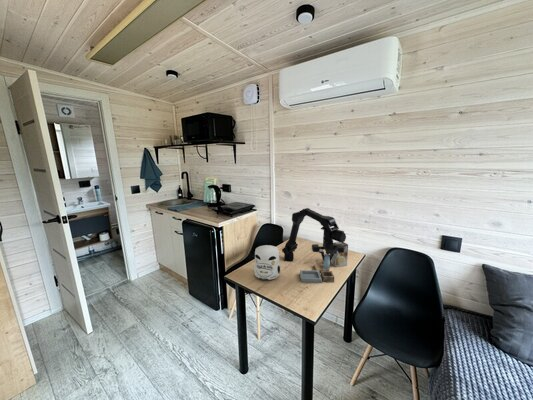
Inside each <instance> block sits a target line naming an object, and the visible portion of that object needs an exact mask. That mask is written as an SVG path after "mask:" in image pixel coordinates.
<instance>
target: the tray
mask: <svg viewBox="0 0 533 400" xmlns="http://www.w3.org/2000/svg"><path fill="white" fill-rule="evenodd" d="M299 275H300V280H301V283H307V284H308V283H309V284H310V283H311V284H312V283H313V284H322V283H323V281H322V278H321V273H320V272H319V271H316V270H315V269H313V270H309V269H308V270H307V269H300V270H299Z"/></svg>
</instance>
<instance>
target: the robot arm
mask: <svg viewBox="0 0 533 400" xmlns="http://www.w3.org/2000/svg"><path fill="white" fill-rule="evenodd" d="M306 216H307V217H308V218H311V219H313V220H315V221H317V222H318V223H319V224H320V226H322V227H321V228H320V230H322V231H323V235H322V245H321V246H319V244H312V245H311V250H312V252H313V253H319V254H320V255H321V259H322V262H324V254H329V255H330V262H331V259H332V257H333V255H334V254H337V251H338V252H339V253H344V248H343V247H342V245H333V243H334V241H336V242H341V243H343V242H344V243H345V242H346V240H347V236H346V233H345V230H341V229H340V228H339V226H338V223H337V221H336V219H335V218H334V217H333V216H329V215H323V214H321V213H318V212H316V211H315V210H313V209H310V208H309V207H306V208H302V209H301V210H299V211H296V212H293V213H292V214H291V221H292V226H291V229H290V233H289V234H290V235H289V239H288V240H287V241H286V243H285V245H284V247H283V248H282V249H281V252H282V253H283V254H284V256H283V259H284V260H283V261H284V262H294V257H295V256H294V255H295V253H294V252H295V251H296V250H297V249H298V243H297V237H298V234H299V230H300V225H301V224H302V223H303V221H304V219H305V217H306Z"/></svg>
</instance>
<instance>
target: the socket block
mask: <svg viewBox="0 0 533 400" xmlns="http://www.w3.org/2000/svg"><path fill="white" fill-rule="evenodd" d="M320 275H321V278H322V283H335V275H334V273H333V271H332V270H329V271H321V273H320Z"/></svg>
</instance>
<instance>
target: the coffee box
mask: <svg viewBox="0 0 533 400" xmlns="http://www.w3.org/2000/svg"><path fill="white" fill-rule="evenodd" d="M333 245H342V247H343V248H344V253H339V252H338V251H337V254H334V255H333V257H332V259H331V261H330V262H331V263H330V264H332V266H334V267H336V268H338V267H340V268H341V267H345V266H347V265H348V253H349V244H348V243H346V242H345V241H344V242H343V243H341V242H338V241H336V242H333Z"/></svg>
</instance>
